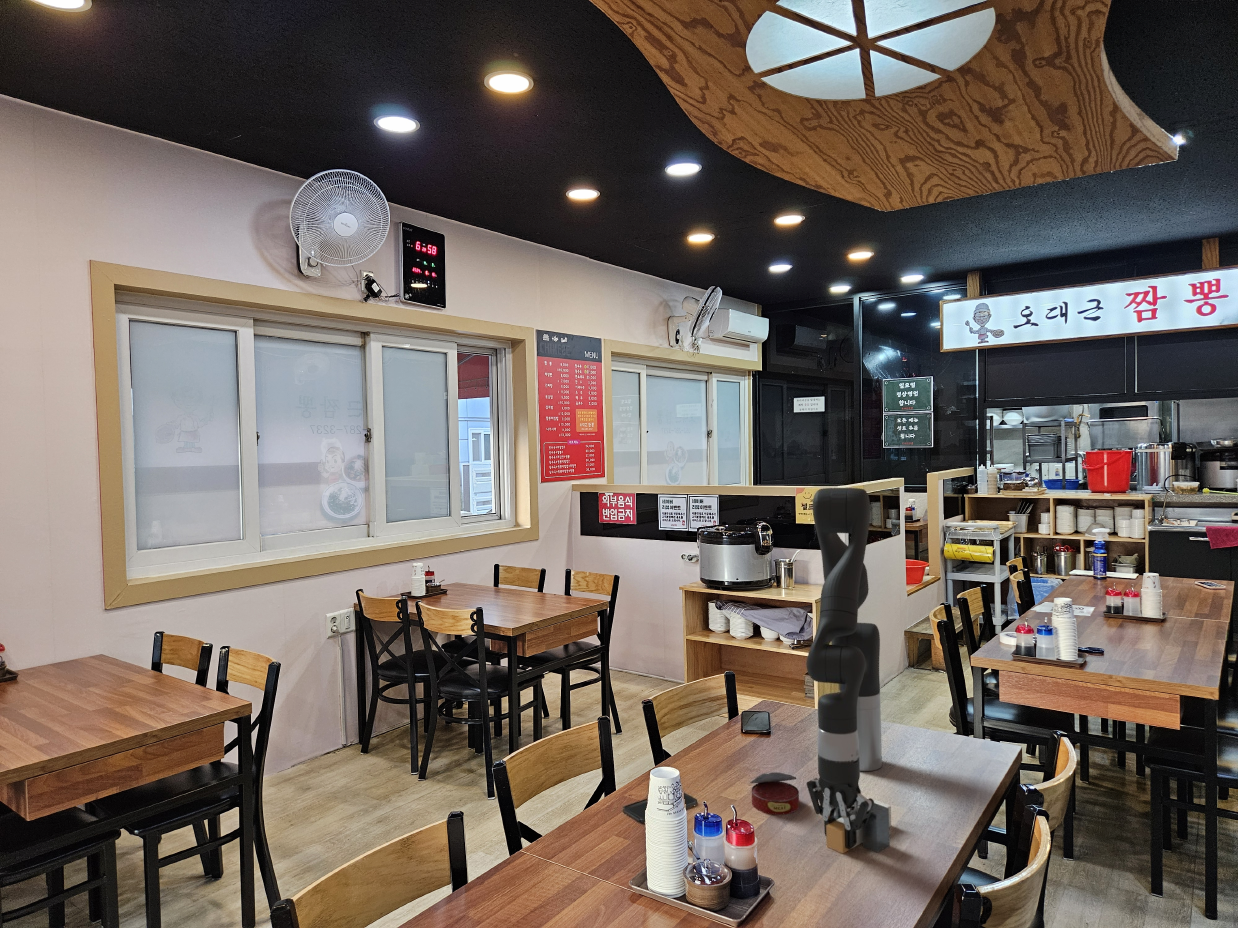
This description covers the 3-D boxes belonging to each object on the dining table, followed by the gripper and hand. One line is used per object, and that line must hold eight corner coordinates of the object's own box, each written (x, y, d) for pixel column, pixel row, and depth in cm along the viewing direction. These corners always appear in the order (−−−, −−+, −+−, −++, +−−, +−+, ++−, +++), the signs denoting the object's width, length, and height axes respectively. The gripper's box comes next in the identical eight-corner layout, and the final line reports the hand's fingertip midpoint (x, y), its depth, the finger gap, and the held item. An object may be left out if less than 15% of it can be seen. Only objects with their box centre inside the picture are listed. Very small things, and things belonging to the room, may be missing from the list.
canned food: (754, 830, 164) (731, 785, 166) (775, 807, 172) (753, 764, 174) (797, 819, 158) (772, 772, 160) (817, 795, 166) (793, 751, 168)
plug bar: (826, 846, 148) (826, 825, 148) (875, 819, 158) (875, 799, 158) (842, 853, 145) (842, 831, 145) (891, 825, 155) (890, 805, 155)
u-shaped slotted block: (825, 830, 154) (824, 794, 154) (837, 823, 156) (836, 788, 156) (877, 852, 145) (876, 814, 145) (889, 845, 147) (888, 808, 147)
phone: (620, 807, 165) (676, 788, 173) (620, 812, 165) (676, 793, 173) (642, 821, 158) (699, 800, 167) (642, 826, 158) (700, 805, 167)
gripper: (795, 746, 150) (797, 836, 150) (859, 768, 139) (861, 864, 139) (819, 736, 155) (821, 823, 155) (883, 756, 144) (885, 850, 144)
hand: (840, 842), depth 147 cm, fingers closed on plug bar, 3 cm apart
